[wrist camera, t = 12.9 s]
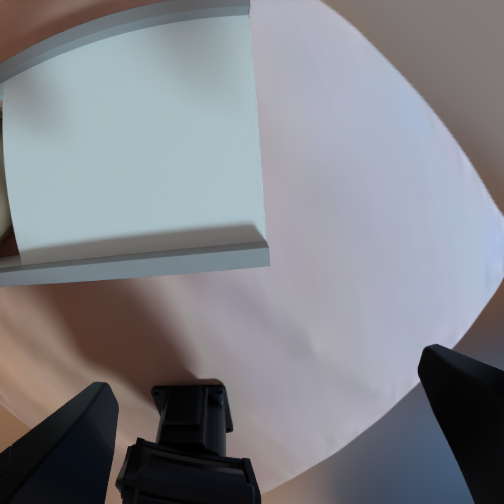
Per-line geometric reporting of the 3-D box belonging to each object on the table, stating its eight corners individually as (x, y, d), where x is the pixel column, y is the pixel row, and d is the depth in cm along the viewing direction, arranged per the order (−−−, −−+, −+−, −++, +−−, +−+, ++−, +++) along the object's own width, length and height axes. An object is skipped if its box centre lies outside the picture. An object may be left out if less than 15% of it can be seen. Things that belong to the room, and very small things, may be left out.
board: (261, 242, 19) (273, 274, 14) (-43, 273, 18) (-75, 294, 13) (245, 22, 15) (250, -19, 10) (-62, 132, 13) (-98, 135, 8)
